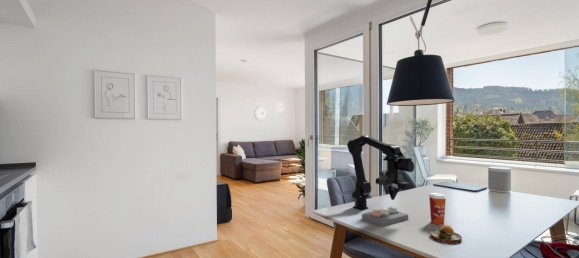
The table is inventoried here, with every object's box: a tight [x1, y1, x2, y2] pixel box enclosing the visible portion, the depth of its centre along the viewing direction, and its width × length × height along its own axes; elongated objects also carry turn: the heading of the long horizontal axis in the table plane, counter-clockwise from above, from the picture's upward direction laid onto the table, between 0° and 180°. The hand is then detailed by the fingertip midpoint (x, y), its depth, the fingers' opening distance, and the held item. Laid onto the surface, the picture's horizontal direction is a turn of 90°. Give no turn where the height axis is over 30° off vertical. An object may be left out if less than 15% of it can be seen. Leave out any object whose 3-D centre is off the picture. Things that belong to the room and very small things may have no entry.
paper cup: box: [428, 192, 447, 226], centre depth 138 cm, size 8×8×14 cm
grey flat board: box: [361, 207, 409, 227], centre depth 144 cm, size 13×19×2 cm
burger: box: [429, 224, 463, 245], centre depth 119 cm, size 12×12×8 cm
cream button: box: [380, 207, 389, 216], centre depth 144 cm, size 4×4×4 cm
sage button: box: [388, 206, 398, 214], centre depth 147 cm, size 4×4×4 cm
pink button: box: [371, 209, 381, 218], centre depth 141 cm, size 4×4×4 cm
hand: (392, 199), depth 147 cm, fingers closed
